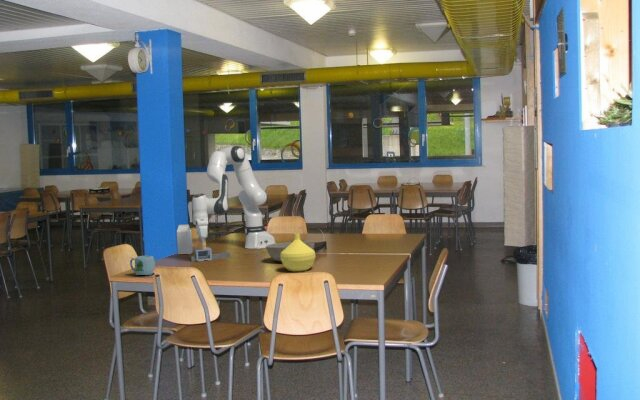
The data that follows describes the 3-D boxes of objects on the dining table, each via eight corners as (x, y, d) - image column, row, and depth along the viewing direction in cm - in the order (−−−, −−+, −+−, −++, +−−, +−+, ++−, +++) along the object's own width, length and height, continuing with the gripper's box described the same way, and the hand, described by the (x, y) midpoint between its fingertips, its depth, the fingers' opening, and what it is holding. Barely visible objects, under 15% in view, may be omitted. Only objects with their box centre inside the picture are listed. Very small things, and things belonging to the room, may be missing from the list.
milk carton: (188, 254, 427) (186, 225, 426) (178, 255, 429) (176, 225, 427) (192, 253, 434) (191, 223, 433) (182, 253, 436) (180, 224, 434)
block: (204, 247, 406) (204, 239, 405) (206, 248, 401) (205, 240, 400) (196, 248, 404) (196, 240, 404) (197, 249, 399) (197, 241, 399)
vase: (287, 266, 362) (286, 231, 361) (320, 266, 357) (318, 231, 356) (276, 273, 345) (274, 236, 344) (310, 273, 340) (308, 235, 338)
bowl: (304, 265, 365) (303, 247, 365) (258, 264, 375) (257, 246, 374) (321, 256, 391) (320, 239, 390) (278, 256, 401) (277, 240, 400)
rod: (229, 257, 409) (228, 252, 409) (230, 258, 407) (229, 253, 406) (191, 261, 402) (190, 256, 402) (191, 262, 399) (191, 257, 399)
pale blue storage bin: (209, 258, 409) (208, 246, 408) (212, 260, 400) (211, 248, 400) (194, 259, 406) (193, 248, 405) (196, 261, 397) (196, 250, 397)
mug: (124, 276, 359) (123, 258, 358) (137, 272, 369) (135, 254, 368) (148, 277, 353) (146, 258, 352) (160, 273, 363) (159, 254, 363)
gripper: (193, 220, 410) (194, 242, 411) (197, 222, 391) (199, 246, 392) (203, 219, 412) (204, 241, 413) (208, 222, 393) (210, 245, 394)
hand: (202, 243), depth 402 cm, fingers open, 8 cm apart
